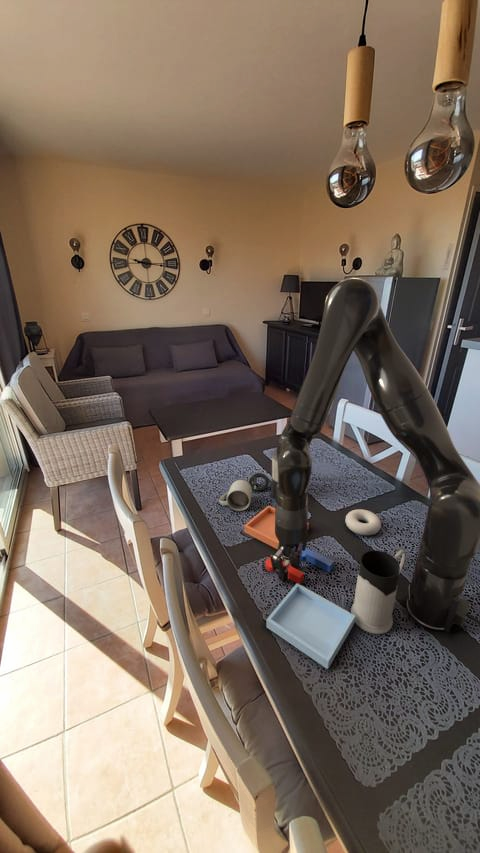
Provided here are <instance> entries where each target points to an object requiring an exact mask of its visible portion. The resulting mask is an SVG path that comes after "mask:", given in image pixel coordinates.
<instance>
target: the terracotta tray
mask: <svg viewBox="0 0 480 853" xmlns="http://www.w3.org/2000/svg"><path fill="white" fill-rule="evenodd" d="M307 529H309V530H310V522H308V524H307ZM243 532H244V533H246V535H249V536H250V537H252V538H255V539H256V540H258V541H261V542H263V543H264V544H266V545H268V546H270V547H272V548H274V549H276V550H278V545H279V541H278V539H277V537H276V535H275V507H273V506H271V505H268V506H266V507H265V508H264V509H262V510H261V511H260V512H259V513H257V514H256V515H255V516H254V517H253V518H251V519H250V520H249V521H248V522H246V524H244V525H243Z"/></svg>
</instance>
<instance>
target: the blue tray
mask: <svg viewBox="0 0 480 853" xmlns="http://www.w3.org/2000/svg"><path fill="white" fill-rule="evenodd" d="M355 624H356V623H355V615H353V614H351V612H349V611H348V610H346V609H344V608H343V607H340V606H339V605H337V604H335V603H334V602H332V601H331V600H329V599H326V598H324V597H323V596H322V595H320V594H317V593H316V592H315V591H312V590H311V589H309V588H307V587H305V586H304V585H302V584H301V583H300V584H298V583H295V585H294V586H292V588H291V590H289V592H288V593H287V594H286V596H284V598H283V599H282V600H281V602H280V603H279V604H278V605H277V606H276V608H275V609H274V610H273V611H272V612H271V613H270V615H268V617H267V618H266V628H267V629H269V630H270V631H271V632H273V633H274V634H276V635H277V636H279V637H280V638H281V639H283V640H284V641H286V642H287V643H289V645H292V646H293V647H295V648H296V649H297V650H299V651H300V652H301V653H303V654H305V656H307V657H309V658H311V659H312V660H314V661H315V662H316V663H318V664H319V665H320V666H322V667H323V668H325V669H326V670H329V669H330V666H331V665H332V663H333V661H334V660H335V658H336V656H337V654H338V653H339V651H340V649H341V648H342V646H343V644H344V642H345V641H346V639H347V638H348V636H349V634H350V632H351V630H352V629H353V627H354V625H355Z"/></svg>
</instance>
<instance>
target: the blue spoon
mask: <svg viewBox="0 0 480 853" xmlns="http://www.w3.org/2000/svg"><path fill="white" fill-rule="evenodd" d="M300 561H307V562H308V563H310V564H312V565H314V566H316V567H318V568H320V569H322V570H323V571H326V572H327V573H331V571H333V569H334V565H335V562H334V561H333V560H332V559H330V558H329V557H326V556H324V555H322V554H319V553H318V552H316V551H314V550H311V549H309V548H308V547H306V549H305V551H303V550H302V556H301V557H300Z"/></svg>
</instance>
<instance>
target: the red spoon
mask: <svg viewBox="0 0 480 853" xmlns="http://www.w3.org/2000/svg"><path fill="white" fill-rule="evenodd" d="M282 562H283V561H282ZM283 565H284V566H285V563H284V562H283ZM265 569H266V570H267V571H269V572H271V573H276V572H275V571H273V568H272V564H271V559H270V556H269V557H268V558H266V560H265ZM304 578H305V573H304V572H303V571H301V570H299V569H295V568H294V567H292V566H291V564H289V568H288V580H290V581H292V582H293V583H295V584H297V583H298V584H300V585H301V583H302V582H303V581H304V580H305V579H304Z"/></svg>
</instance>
